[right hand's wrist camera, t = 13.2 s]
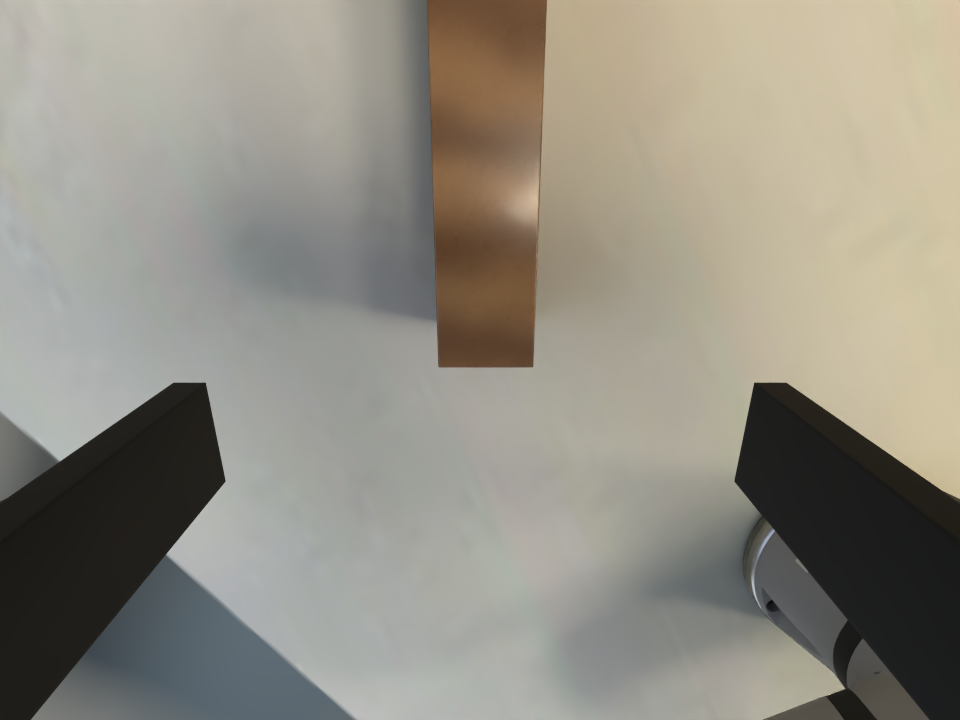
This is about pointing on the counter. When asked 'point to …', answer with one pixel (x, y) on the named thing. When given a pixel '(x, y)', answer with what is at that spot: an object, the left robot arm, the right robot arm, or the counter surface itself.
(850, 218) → the counter surface
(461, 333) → the post
